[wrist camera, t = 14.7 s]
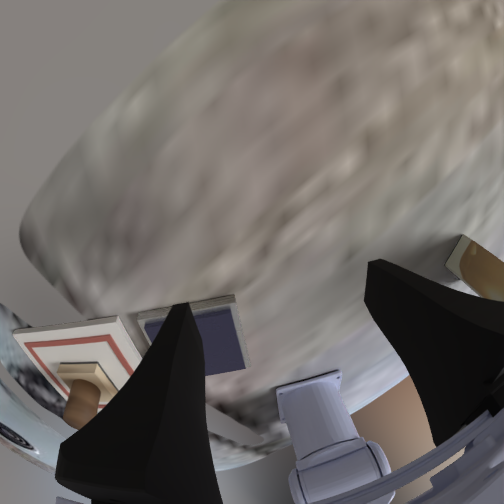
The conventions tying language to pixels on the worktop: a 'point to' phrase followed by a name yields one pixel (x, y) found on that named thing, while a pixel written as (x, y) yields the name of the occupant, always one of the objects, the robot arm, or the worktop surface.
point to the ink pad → (209, 333)
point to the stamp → (84, 391)
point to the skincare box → (478, 269)
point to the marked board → (81, 349)
